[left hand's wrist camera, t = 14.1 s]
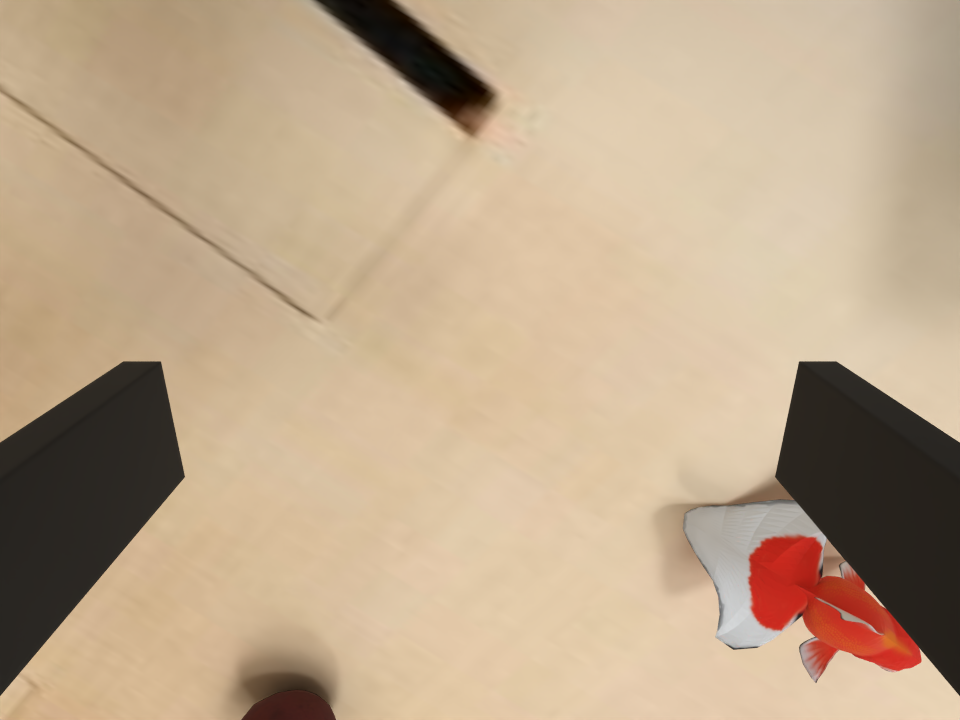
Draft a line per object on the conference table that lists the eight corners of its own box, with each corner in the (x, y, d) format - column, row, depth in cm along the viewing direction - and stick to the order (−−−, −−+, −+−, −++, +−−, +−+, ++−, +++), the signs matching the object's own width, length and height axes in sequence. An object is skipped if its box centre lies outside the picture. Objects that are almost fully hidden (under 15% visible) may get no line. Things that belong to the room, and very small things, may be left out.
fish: (787, 726, 40) (880, 807, 31) (625, 545, 43) (662, 565, 33) (896, 615, 41) (1019, 658, 32) (731, 444, 44) (797, 435, 34)
